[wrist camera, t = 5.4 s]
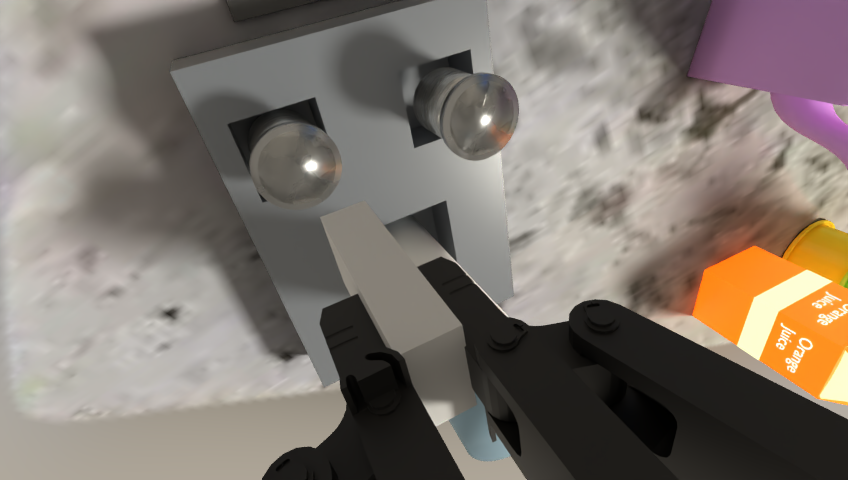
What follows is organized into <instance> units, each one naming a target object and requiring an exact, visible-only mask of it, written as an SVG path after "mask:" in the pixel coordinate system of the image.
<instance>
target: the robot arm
mask: <svg viewBox="0 0 848 480" xmlns="http://www.w3.org/2000/svg"><path fill="white" fill-rule="evenodd" d="M320 219H321V221H322V224H323V227H324V229H325V232H326V235H327V238H328V240H329V243H330V246H331V248H332V251H333V254H334V257H335V259H336V262H337V265H338V268H339V270H340V273H341V276H342V278H343V281H344V284H345V286H346V288H347V290H348V292H349V294H350V296H351V297H348V298H346V299H344V300H341V301H339V302H337V303H334V304H332V305H330V306H327V307H325V308H323V309H322V313H321V318H320V323H319V324H320V327H321V330H322V332H323V335H324V338H325V340H326V343H327V346H328V348H329V351H330V354H331V356H332V359H333V362H334V364H335V367H336V370H337V372H338V375H339V378H340V389H341V392H342V394H343V396H344V398H345V400H346V403H347V405H346V411H345V414H344V417H343V419H342V421H341V423H340V424H339V426H338V427H337V429H336V430H335V431H334V432H333V433H332V434H331V435H330V436H329V437H328V438H327V439H326V440H325V441H323V442H322V443H321V444H320V445H319V446H318V447H317V448H316V449H315V448H312V447H301V448H295V449H293V450H291V451H289V452H287V453H285V454H283V455H282V456H281V457H279V458H278V459H277V460H276V461H275V462H274V463H273V464H271V466H270V467H269V469H268V470H267V472H266V473H265V475H264V476H263V478H262V480H465V479H464V477H463V475H462V473H461V472H460V470H459V468H458V466H457V464H456V463H455V461H454V459H453V457H452V455H451V453H450V452H449V450H448V448H447V446H446V444H445V443H444V441H443V439H442V437H441V435H440V434H439V432H438V430H437V428H436V426H438V425H440V424H442V423H444V422H446V421H448V420H449V419H451V418H453V417H455V416H457V415H459V414H461V413H463V412H464V411H466V410H468V409H470V408H472V407H474V406H476V405H477V403H476V397H475V393H476V395H477V396H478V397H479V399H480V400H481V402H482V403H483V405H484V406H485V412H486V418H487V424H488V430H489V435H490V437H491V440H492V442H495V441H497V439H496V434H497V436H498V437H499V439H500V440H501V442H502V443H503V445H504V446H505V448H506V449H507V451H508V452H509V454H510V455H511V457H512V458H513V460H514V461H515V463H516V464H517V466H518V467H519V469H520V470H521V472H522V473H523V475H524V476H525V478H526V479H527V480H848V419H846V418H844V417H842V416H840V415H838V414H836V413H834V412H832V411H830V410H828V409H826V408H824V407H822V406H820V405H818V404H816V403H814V402H812V401H810V400H808V399H806V398H804V397H802V396H800V395H798V394H796V393H794V392H792V391H790V390H788V389H786V388H784V387H782V386H780V385H778V384H776V383H774V382H773V381H770V380H768V379H767V378H765V377H763V376H761V375H759V374H756V373H755V372H753V371H751V370H749V369H747V368H745V367H743V366H741V365H739V364H737V363H735V362H733V361H731V360H729V359H727V358H725V357H723V356H721V355H719V354H717V353H715V352H713V351H711V350H709V349H707V348H705V347H703V346H701V345H699V344H697V343H695V342H693V341H691V340H689V339H687V338H685V337H683V336H681V335H679V334H677V333H675V332H673V331H671V330H669V329H667V328H665V327H663V326H661V325H659V324H657V323H655V322H653V321H651V320H649V319H647V318H645V317H643V316H641V315H639V314H637V313H635V312H633V311H631V310H629V309H627V308H625V307H623V306H621V305H619V304H616V303H613V302H611V301H608V300H596V299H595V300H589V301H584V302H582V303H580V304H578V305H576V306H575V307H574V308H573V310H572V311H571V312H570V314H569V321H566V322H561V323H556V324H550V325H544V326H529V325H527V324H526V323H524V322H523V321H521V320H518V319H515V318H511V317H507V316H506V315H504V314H503V312H502V311H501V310H500V309H499V308H498V307H497V306H496V305H495V304H494V303H493V302H492V301H491V300H490V299H489V298H488V296H487V295H486V294H485V293H484V292H483V291H482V290H481V289H480V288H479V287H478V286H477V285H476V284H474V281H473V280H472V279H471V278H470V277H469V276H468V275H466V273H465V272H464V271H463V270H462V269H461V268H460V267H459V265H458V264H457V263H455V262H453V261H450V260H448V259H446V258H443V257H439V258H436V259H434V260H432V261H429V262H427V263H425V264H422V265H420V266H418V267H416V265H415V264H414V263H413V262H412V260H411V259H410V258H409V257H408V255H407V254H406V253H405V251H404V250H403V249H402V248H401V246H400V245H399V244H398V243H397V241H396V240H395V239H394V237H393V236H392V235H391V234H390V232H389V231H388V230H387V229H386V227H385V226H384V225H383V223H382V222H381V221H380V220H379V218H378V217H377V216H376V215H375V213H374V212H373V211H372V209H371V208H370V207H369V206H368V204H367V203H366V202H365V201H362V202H359V203H357V204H354V205H351V206H349V207H346V208H343V209H341V210H338V211H335V212H333V213H330V214H327V215H325V216H322V217H320Z"/></svg>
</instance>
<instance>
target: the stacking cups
mask: <svg viewBox="0 0 848 480" xmlns="http://www.w3.org/2000/svg"><path fill="white" fill-rule="evenodd" d="M782 259H784V260H786V261H789V262H791V263H793V264H795V265H797V266H799V267H801V268H804V269H806V270H809V271H811V272H813V273H815V274H818V275H820V276H822V277H824V278H826V279H828V280H830V281H832V282H834V283H836V284H838V285H840V286H842V287H844V288H846V289H848V233H845V232H842V231H840V230H837V229H835V226H834V224H833V223H832V222H831V221H828V220H820V221H817V222H815V223H813V224H811V225H809V226H808V227H807V228H805V229H804V230H803V231H802V232H801V233H800V234H799V235H798V236H797V237H796V238H795V239H794V240H793V241H792V243H791V244H790V245H789V247H788V248H787V250H786V251H785V253H784V255H783V257H782Z"/></svg>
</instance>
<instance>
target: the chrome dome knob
mask: <svg viewBox="0 0 848 480" xmlns="http://www.w3.org/2000/svg"><path fill="white" fill-rule="evenodd" d="M247 141H248V148H249V151H250V160H249V169H250V174H251V178H252V180H253V183H254V185H255V187H256V189H257V191H258V192H259V193H260V195H261V196H262V197H263V198H264V199H266V200H267V201H268V202H270V203H271V204H273V205H275V206H277V207H280V208H284V209H289V210H302V209H307V208H311V207H313V206H316V205H318V204H320V203H321V202H323V201H324V200H326V199H327V198H328V197H329V196H330V195H331V194H332V193H333V191H334V190H335V188H336V187H337V185H338V183H339V180H340V177H341V172H342V160H341V156H340V153H339V150H338V148H337V146H336V144H335V143H334V142H333V140H332V139H331V138H330V137H329V136H328V135H327V134H326V133H325V132H324V131H323V130H321V129H320V128H318V127H316V126H314V125H312V124H310V123H309V122H308V121H307V120H306V119H305V118H304V117H303V116H302V115H300V114H298V113H297V112H294V111H291V110H287V109H275V110H272V111H268V112H265V113H263V114H262V115H260V116H259V117H258V118H257V119H256V120H255V121H254V122H253V124H252V126H251V127H250V130H249V133H248V140H247Z"/></svg>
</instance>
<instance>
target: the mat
mask: <svg viewBox="0 0 848 480" xmlns="http://www.w3.org/2000/svg"><path fill="white" fill-rule="evenodd" d="M226 1H227V4H228V7H229V9H230V12H231V14H232V17H233V20H234V22H236V21H240V20H244V19H248V18H252V17H256V16H260V15H264V14H268V13H272V12H276V11H280V10H284V9H288V8H292V7H296V6H300V5H304V4H308V3H312V2H316V1H319V0H226Z"/></svg>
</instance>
